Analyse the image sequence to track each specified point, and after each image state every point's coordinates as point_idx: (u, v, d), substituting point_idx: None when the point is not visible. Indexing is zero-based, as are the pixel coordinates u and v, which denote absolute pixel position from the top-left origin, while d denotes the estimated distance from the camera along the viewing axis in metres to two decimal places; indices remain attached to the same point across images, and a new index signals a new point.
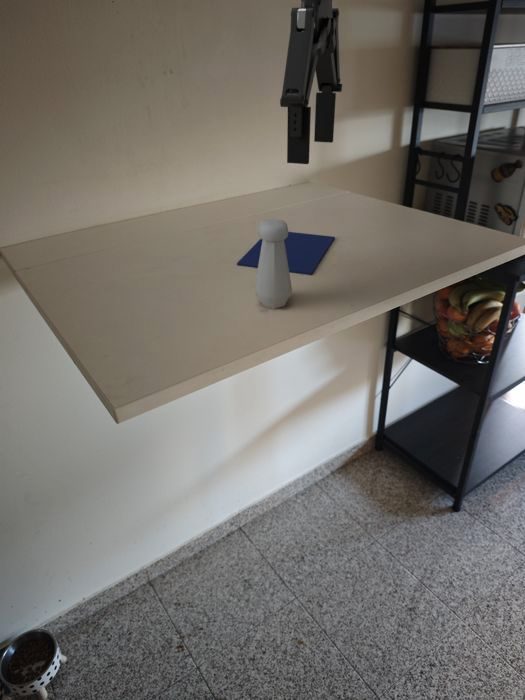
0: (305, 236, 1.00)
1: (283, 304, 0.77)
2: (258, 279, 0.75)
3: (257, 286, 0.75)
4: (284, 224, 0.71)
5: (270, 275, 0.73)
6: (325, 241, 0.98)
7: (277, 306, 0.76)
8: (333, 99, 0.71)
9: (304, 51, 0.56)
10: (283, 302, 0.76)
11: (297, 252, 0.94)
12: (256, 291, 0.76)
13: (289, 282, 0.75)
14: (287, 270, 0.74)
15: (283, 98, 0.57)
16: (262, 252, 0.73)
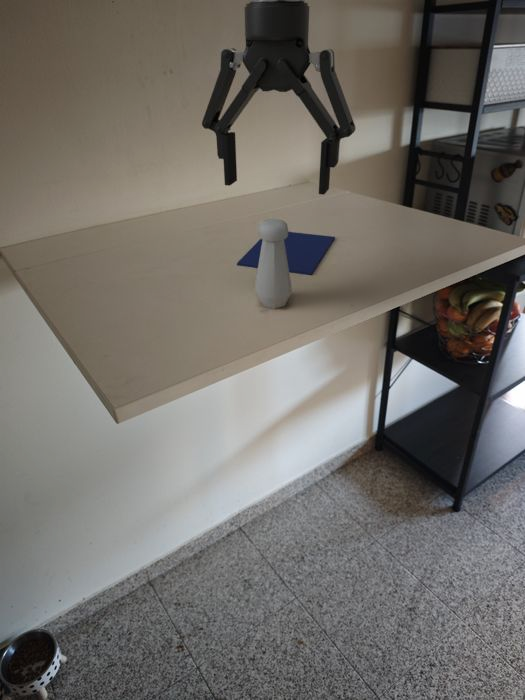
0: (305, 236, 1.00)
1: (283, 304, 0.77)
2: (258, 279, 0.75)
3: (257, 286, 0.75)
4: (284, 224, 0.71)
5: (270, 275, 0.73)
6: (325, 241, 0.98)
7: (277, 306, 0.76)
8: (234, 138, 0.69)
9: (340, 88, 0.60)
10: (283, 302, 0.76)
11: (297, 252, 0.94)
12: (256, 291, 0.76)
13: (289, 282, 0.75)
14: (287, 270, 0.74)
15: (352, 132, 0.61)
16: (262, 252, 0.73)
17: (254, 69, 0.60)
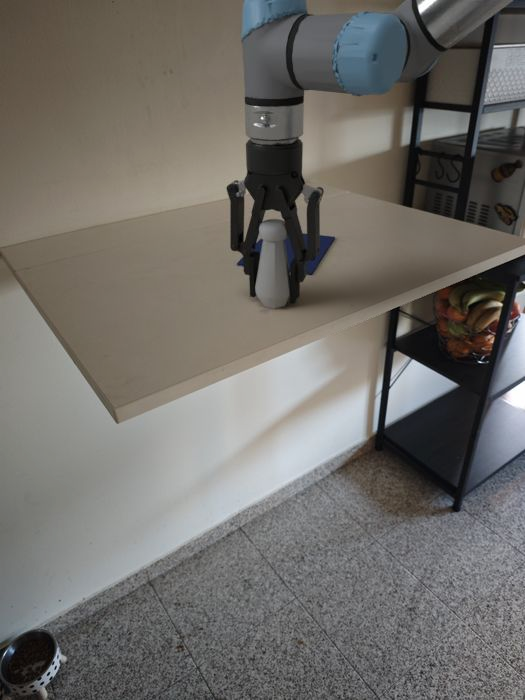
0: (305, 236, 1.00)
1: (283, 304, 0.77)
2: (258, 279, 0.75)
3: (257, 286, 0.75)
4: (284, 224, 0.71)
5: (270, 275, 0.73)
6: (325, 241, 0.98)
7: (277, 306, 0.76)
8: (259, 256, 0.77)
9: (318, 220, 0.70)
10: (283, 302, 0.76)
11: None
12: (256, 291, 0.76)
13: None
14: (287, 270, 0.74)
15: (315, 258, 0.71)
16: (262, 252, 0.73)
17: (256, 196, 0.68)
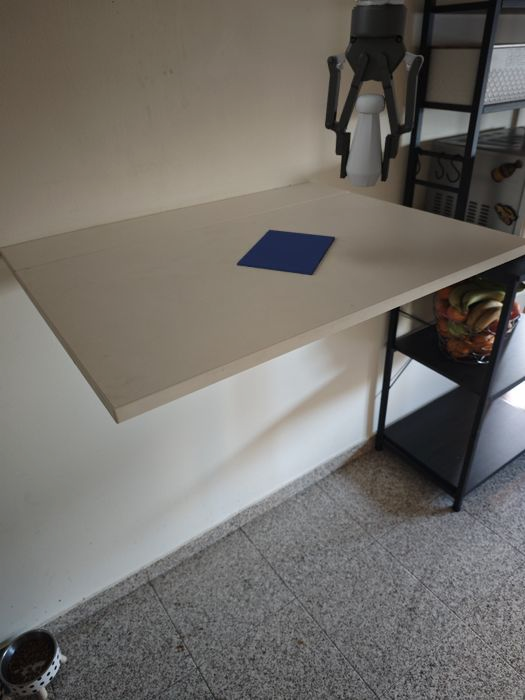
0: (305, 236, 1.00)
1: (374, 183, 0.79)
2: (352, 156, 0.77)
3: (350, 164, 0.78)
4: (382, 96, 0.73)
5: (366, 149, 0.76)
6: (325, 241, 0.98)
7: (368, 185, 0.79)
8: (350, 137, 0.79)
9: (416, 90, 0.72)
10: (374, 181, 0.79)
11: (297, 252, 0.94)
12: (349, 169, 0.78)
13: (382, 160, 0.78)
14: (381, 146, 0.77)
15: None
16: (358, 127, 0.75)
17: (358, 64, 0.71)
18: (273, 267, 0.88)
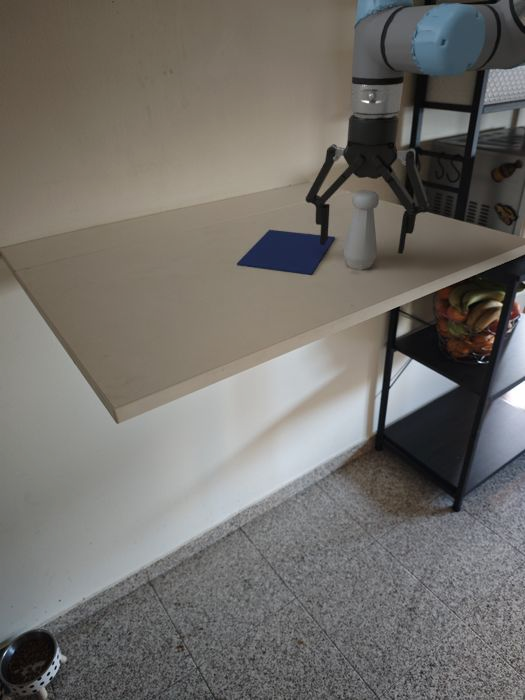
0: (305, 236, 1.00)
1: (369, 266, 0.88)
2: (349, 243, 0.86)
3: (347, 250, 0.86)
4: (376, 194, 0.82)
5: (361, 239, 0.84)
6: None
7: (364, 267, 0.87)
8: None
9: (419, 176, 0.79)
10: (369, 264, 0.87)
11: (297, 252, 0.94)
12: (346, 254, 0.87)
13: (376, 246, 0.86)
14: (375, 235, 0.85)
15: None
16: (354, 219, 0.84)
17: (354, 162, 0.79)
18: (273, 267, 0.88)
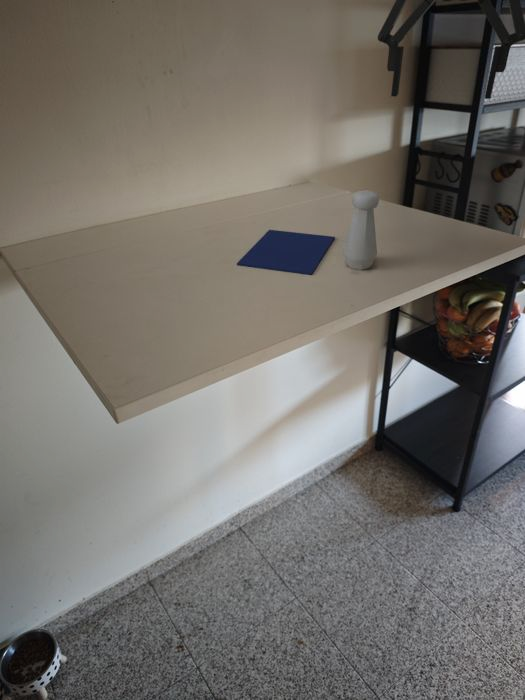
0: (305, 236, 1.00)
1: (369, 266, 0.88)
2: (349, 243, 0.86)
3: (347, 250, 0.86)
4: (376, 194, 0.82)
5: (361, 239, 0.84)
6: (325, 241, 0.98)
7: (364, 267, 0.87)
8: None
9: None
10: (369, 264, 0.87)
11: (297, 252, 0.94)
12: (346, 254, 0.87)
13: (376, 246, 0.86)
14: (375, 235, 0.85)
15: None
16: (354, 219, 0.84)
17: None
18: (273, 267, 0.88)
